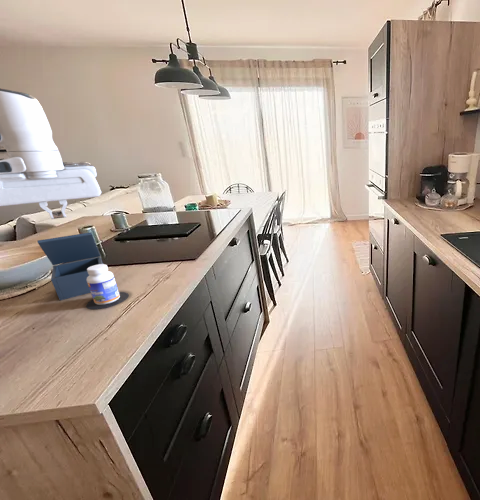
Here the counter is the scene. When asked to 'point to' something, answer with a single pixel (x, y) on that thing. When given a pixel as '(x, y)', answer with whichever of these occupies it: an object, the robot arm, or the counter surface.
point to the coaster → (94, 306)
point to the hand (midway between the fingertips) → (59, 217)
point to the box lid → (69, 248)
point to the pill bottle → (102, 284)
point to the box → (72, 278)
